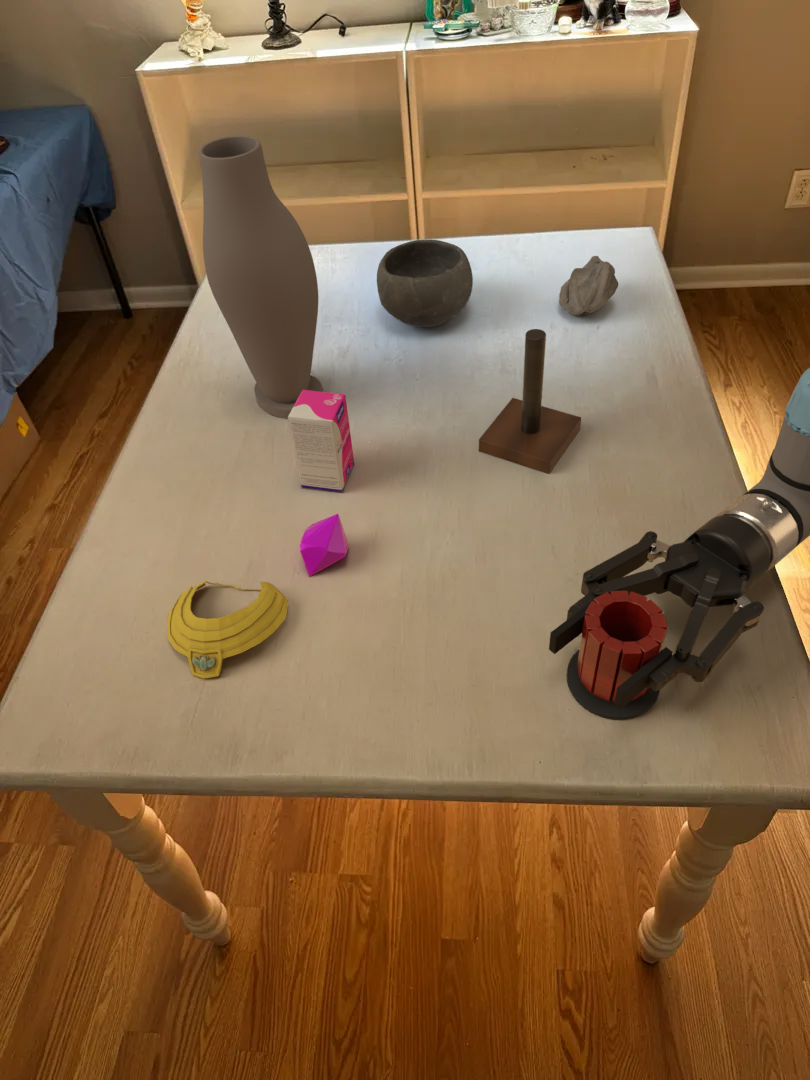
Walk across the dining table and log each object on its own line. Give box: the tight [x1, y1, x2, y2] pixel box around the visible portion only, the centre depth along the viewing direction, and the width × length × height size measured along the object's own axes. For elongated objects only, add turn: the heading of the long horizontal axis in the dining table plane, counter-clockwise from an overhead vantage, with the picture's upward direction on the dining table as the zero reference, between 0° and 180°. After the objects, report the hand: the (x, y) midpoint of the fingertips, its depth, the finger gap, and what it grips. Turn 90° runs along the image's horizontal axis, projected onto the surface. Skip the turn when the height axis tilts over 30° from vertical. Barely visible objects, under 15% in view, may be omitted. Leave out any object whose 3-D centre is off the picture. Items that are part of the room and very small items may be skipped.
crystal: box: [299, 513, 350, 578], centre depth 90 cm, size 5×5×5 cm
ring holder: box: [478, 328, 582, 475], centre depth 98 cm, size 10×10×16 cm
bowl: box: [376, 239, 474, 328], centre depth 123 cm, size 15×15×10 cm
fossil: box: [558, 255, 619, 316], centre depth 122 cm, size 11×9×8 cm
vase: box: [198, 135, 324, 419], centre depth 101 cm, size 13×13×35 cm
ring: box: [577, 591, 668, 702], centre depth 74 cm, size 7×7×8 cm
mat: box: [566, 648, 661, 721], centre depth 77 cm, size 9×9×1 cm
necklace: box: [166, 580, 290, 679], centre depth 85 cm, size 13×13×4 cm
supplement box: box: [287, 390, 355, 493], centre depth 97 cm, size 6×6×12 cm
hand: (584, 670), depth 71 cm, fingers closed on ring, 7 cm apart
